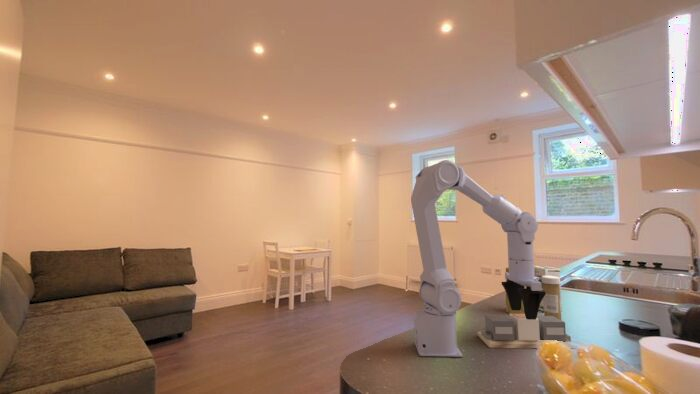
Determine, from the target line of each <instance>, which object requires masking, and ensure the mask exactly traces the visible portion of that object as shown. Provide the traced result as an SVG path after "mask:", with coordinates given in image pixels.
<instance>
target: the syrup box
mask: <svg viewBox="0 0 700 394" xmlns="http://www.w3.org/2000/svg"><path fill="white" fill-rule="evenodd" d="M534 276H535V277H539V280H538V281H539V282H541V285H542V290H543V284H542V276H556V277H559V279H560V280H561V268H558V267H551V266H545V265H534ZM561 285H562V284H561V281H560V284H559V289H560V302H561V313H562V311H563V309H562V308H563V307H562V288H561V287H562V286H561ZM538 311H542V312H544V304H543V299H542V301H541V303H540V306H539V310H538Z"/></svg>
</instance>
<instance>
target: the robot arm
mask: <svg viewBox="0 0 700 394" xmlns="http://www.w3.org/2000/svg"><path fill="white" fill-rule="evenodd" d="M449 190H451V191H452V190H453V191H455V190H456V191H458V192H460V193H461V194H463V195H465V196H466V197H468V198H469V199H471V200H472V201H474V202H476V203H477V204H479V205H480V206H482V212H483V213H484V214H485V215H487V216H488V217H489V218H491V219H492V220H494V222H497V223H498V224H499V225H500V226H501V229H502V231H503V232H504V233H506V236H507V238H506V240H507V263H508V264H507V265H508V267H507V268H509V272H506V271H505V272H504V280H505V281H501V286H502V287H503V289H504V291H505V294H506V293H507V296H508V300H509V303H510V307H511V310H521V304H522V302H523V306H524V313H525V317H526V319H535V320H536V318H537V316H538V314H539V311H540V310H539V306H540V303H541V301H542V299H543V297H544V296H545V295H546V291H544V290H542V285H541V282H539V281H538V280H539V277H535V276H534V266H535V258H534V257H535V256H534V241H535V240H536V238H535V235H536V232H537V231H538V227H539V222H537V219H536V218H535V216H534V215H533V214H532V213H531V212H527V211H522V210H521V209H520V206H518V205H514V204H513V203H511V202H510V201H508V200H507V199H506V198H507V197H506V196H505V195H503V194H496V193H495V194H491V193H489V192H488V191H487V190H486V189H485V188H483V187H482V186H481V185H479V183H477V182H476V181H475V180H474V179H472V178H471V177H470V176H469V175H468V174H467V173H466V172H465V171H464V169H463V167H462V166H459V165H457V164H456V163H455V162H453V161H452V160H448V159H442V160H440V161H439V162H437V163H435V164H433V165H432V164H431V165H429V166H426V167H425V166H424V167H423V168H422V169H421V170H420V171H419V172H418V174H417V175H416V176H415V183H414V186H413V189H412V192H411V197H410V202H411V203H410V204H411V208H412V213H413V214H412V215H413V219H414V224H415V231H416V234H417V235H416V237H417V241H418V246H419V253H420V257H421V259H420V260H421V264H422V270H423V271H422V272H421V274H420V276H419V279H420V285H419V288H418V292H419V293H418V295H419V297H420V299H421V301H422V303H423V309H421V310H415V311H414V317H413V318H414V320H413V321H414V336H413V337H414V345H415V347H416V350H417V352H418V355H419V356H420V357H445V358H446V357H447V358H448V357H452V358H453V357H454V358H455V357H457V358H460V357H461V358H462V357H463V353H462V352H461V350H460V349H459V347H458V346H457V345H458V344H457V316H456V315H457V311H458V310H459V309H460V308H461V305H462V295H461V292H460V291H459V289H458V288H457V286H456V284H455V279H454V277H453V276H452V275H451V273H450V271H449V270H448V267H447V262H446V258H445V257H446V256H445V252H444V251H445V250H444V247H443V241H442V236H441V230H440V223H439V219H438V214H437V208H436V207H437V206H436V202H437V201H438V200H439V198H440V197H441V196H442V195H443V193H445V192H446V191H449ZM506 280H507V282H506Z"/></svg>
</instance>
